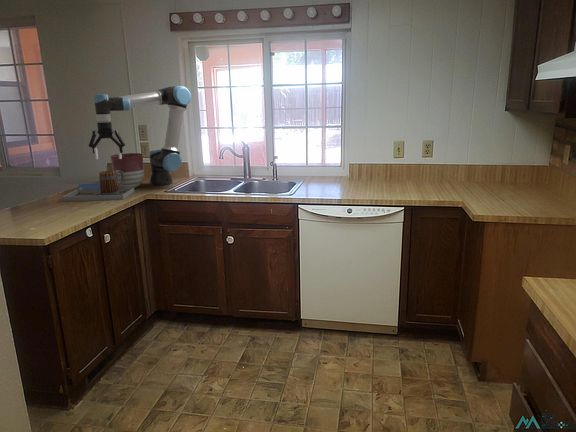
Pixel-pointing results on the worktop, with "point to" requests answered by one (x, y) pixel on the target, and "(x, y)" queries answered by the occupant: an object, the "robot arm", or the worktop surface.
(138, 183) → the planter
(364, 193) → the worktop surface
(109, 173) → the mug
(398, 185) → the worktop surface
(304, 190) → the worktop surface
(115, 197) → the grey tray
